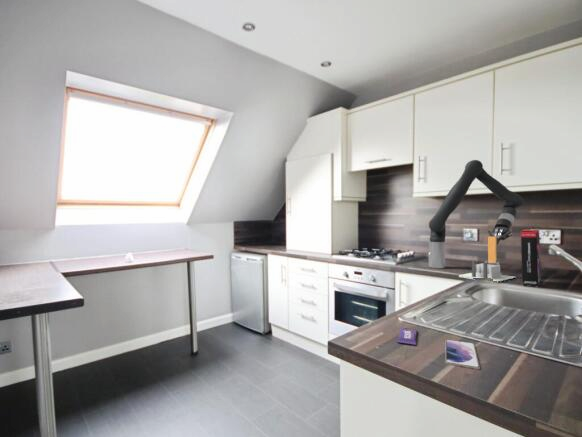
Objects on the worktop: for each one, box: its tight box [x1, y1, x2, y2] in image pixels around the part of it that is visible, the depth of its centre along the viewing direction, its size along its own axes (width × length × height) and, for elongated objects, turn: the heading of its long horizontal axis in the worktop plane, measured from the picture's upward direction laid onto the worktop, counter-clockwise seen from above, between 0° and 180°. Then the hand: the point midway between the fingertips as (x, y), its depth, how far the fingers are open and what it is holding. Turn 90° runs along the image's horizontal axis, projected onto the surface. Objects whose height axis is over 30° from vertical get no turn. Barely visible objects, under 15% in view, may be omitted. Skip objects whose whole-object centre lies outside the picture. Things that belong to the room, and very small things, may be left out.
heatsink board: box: [458, 260, 517, 282], centre depth 171 cm, size 20×20×10 cm
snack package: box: [396, 327, 419, 346], centre depth 89 cm, size 12×2×5 cm
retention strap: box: [487, 235, 498, 265], centre depth 174 cm, size 4×1×16 cm, turn 32°
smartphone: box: [445, 339, 481, 370], centre depth 78 cm, size 7×1×15 cm
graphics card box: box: [520, 228, 542, 287], centre depth 155 cm, size 17×7×27 cm, turn 138°
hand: (494, 244), depth 176 cm, fingers closed
